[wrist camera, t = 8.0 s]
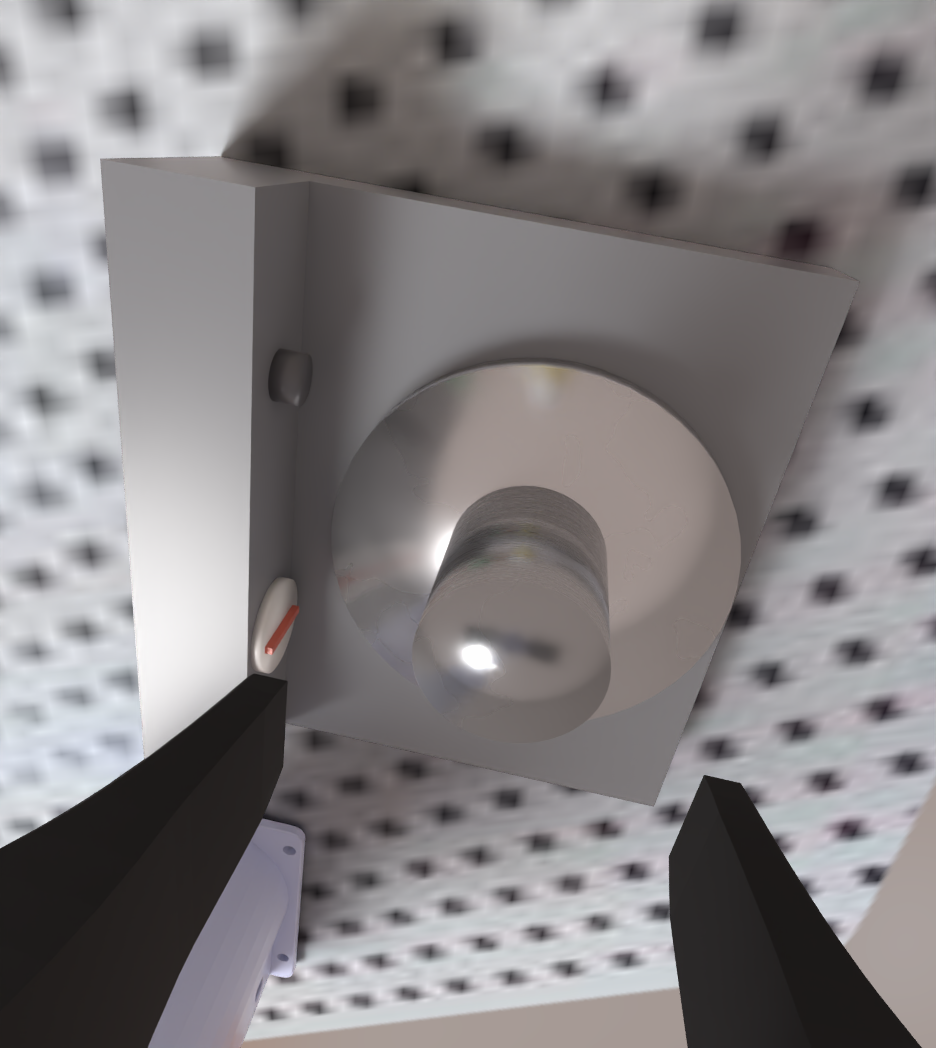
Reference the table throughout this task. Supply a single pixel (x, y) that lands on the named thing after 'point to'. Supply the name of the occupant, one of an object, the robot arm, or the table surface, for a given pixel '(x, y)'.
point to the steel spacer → (518, 619)
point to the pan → (558, 464)
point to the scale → (372, 392)
